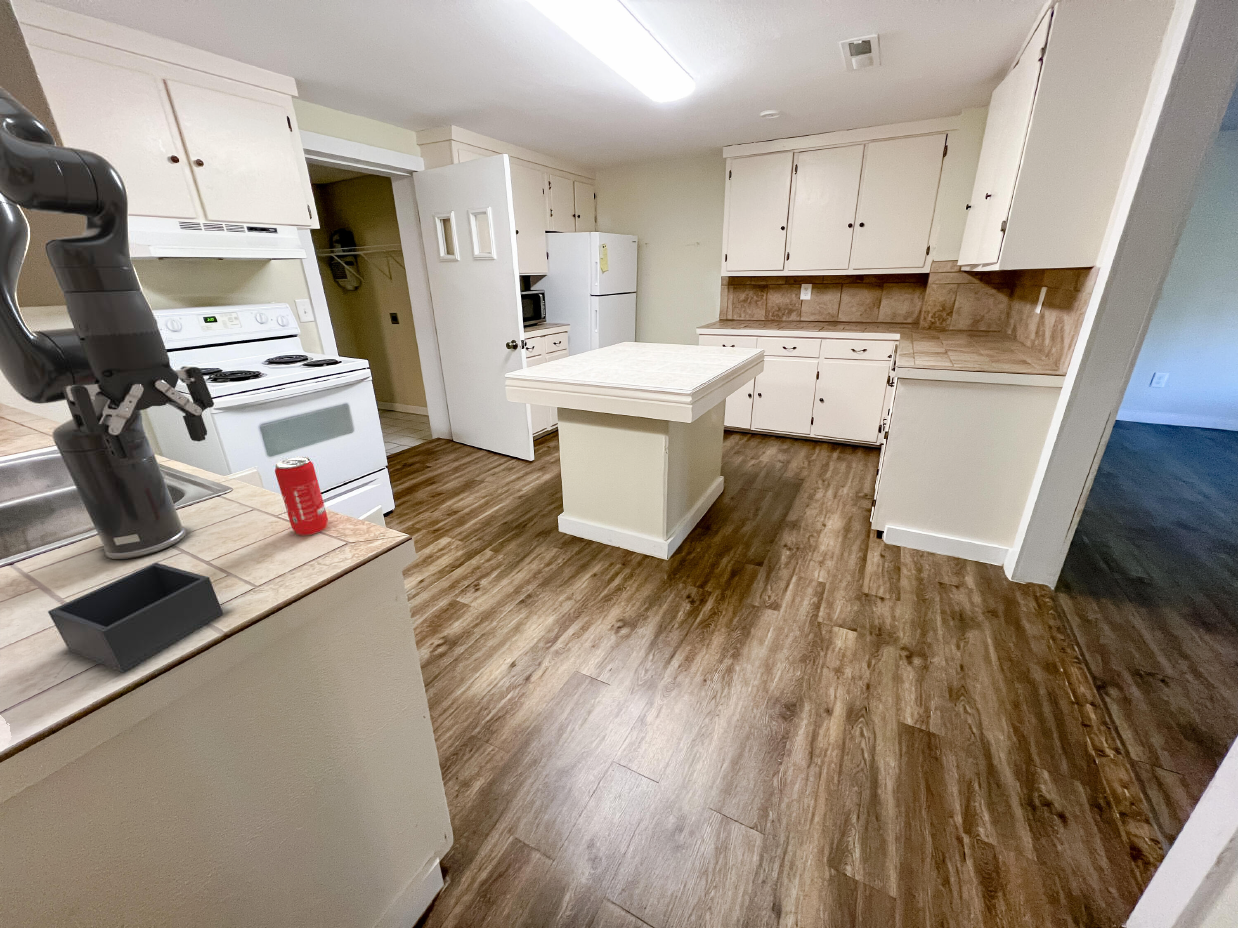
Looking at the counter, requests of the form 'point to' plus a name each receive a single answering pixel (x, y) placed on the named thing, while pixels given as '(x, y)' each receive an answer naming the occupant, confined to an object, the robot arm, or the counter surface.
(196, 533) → the counter surface
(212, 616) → the bin
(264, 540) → the counter surface
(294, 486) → the beverage can
